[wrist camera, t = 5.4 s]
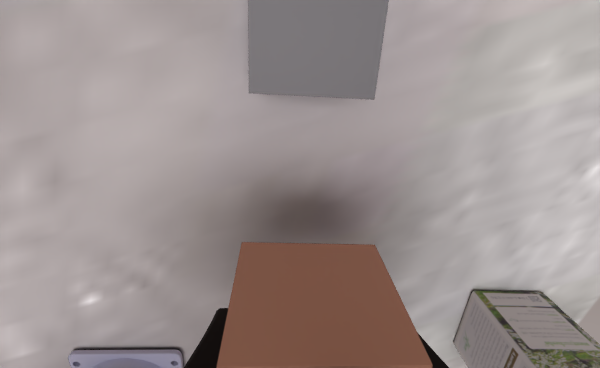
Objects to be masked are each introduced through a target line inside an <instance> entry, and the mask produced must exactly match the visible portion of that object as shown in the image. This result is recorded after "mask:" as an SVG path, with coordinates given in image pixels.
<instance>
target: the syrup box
mask: <svg viewBox="0 0 600 368" xmlns="http://www.w3.org/2000/svg"><path fill="white" fill-rule="evenodd" d="M454 345H455V347H456V349H457V350H458V352H459V354H460V355H461V357H462V359H463V360H464V362H465V363H466V365H467V366H468V368H600V345H599V344H598V343H597V342H596V341H595V340H594V339H593V338H592V337H591V336H590V335H589V334H588V333H586V332H585V331H584V330H583V329H582V328H581V327H580V326H579V325H578V324H577V323H575V322H574V321H573V320H572V319H571V318H570V317H569V316H568V315H566V314H565V313H564V312H563V311H562V310H561V309H560V308H559V307H558V306H557V305H556V304H555V303H554V302H552V301H551V300H550V299H549V298H548V297H547V296H546V295H545V294H544V293H542V292H514V291H512V292H511V291H473V292H472V294H471V296H470V299H469V301H468V303H467V306H466V309H465V311H464V314H463V317H462V320H461V323H460V326H459V329H458V332H457V334H456V337H455V341H454Z"/></svg>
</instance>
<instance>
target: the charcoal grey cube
mask: <svg viewBox="0 0 600 368" xmlns="http://www.w3.org/2000/svg"><path fill="white" fill-rule="evenodd" d="M388 2H389V0H248V38H249V93H255V94H274V95H294V96H313V97H332V98H352V99H371V100H374V98H375V91H376V84H377V78H378V71H379V64H380V57H381V50H382V43H383V36H384V29H385V22H386V15H387V9H388Z"/></svg>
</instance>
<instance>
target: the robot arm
mask: <svg viewBox="0 0 600 368" xmlns="http://www.w3.org/2000/svg"><path fill="white" fill-rule="evenodd" d="M227 313H228V308H220V309H218V310H217V311H216V313H215V316H214V318H213V320H212V322H211V324H210V325H209V327H208V329H207V331H206V333H205V334H204V336H203V338H202V340H201V341H200V343H199V345H198V346H197V348H196V349H195V351H194V353H193V354H192V356H191V357H190V359H189V360H188V362H187V364H186V365H185V367H183V359H182V353H181V352H180V351H179V350H74V351H72V352H71V354H70V355H69V356H68V360H69V363H70V366H71V368H217V363H218V358H219V353H220V348H221V343H222V338H223V333H224V328H225V323H226V318H227ZM418 336H419V338H420V340H421V342H422V344H423V346H424V348H425V350H426V352H427V354H428V356H429V358H430V360H431V363H432V365H433V366H432V368H449V367H448V366H447V365H446V364H445V363H444V362H443V361H442V360H441V359H440V357H439V356H438V355H437V354H436V353H435V352H434V351H433V350H432V349H431V348H430V346H429V345H428V344H427V343H426V342H425V341H424V340H423V338H422V337H421V336H420V335H419V334H418Z"/></svg>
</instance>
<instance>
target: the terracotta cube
mask: <svg viewBox="0 0 600 368" xmlns="http://www.w3.org/2000/svg"><path fill="white" fill-rule="evenodd" d="M432 366H433V365H432V363H431V360H430V358H429V356H428V354H427V352H426V350H425V348H424V346H423V344H422V342H421V340H420V338H419V336H418V333H417V331H416V329H415V327H414V325H413V323H412V321H411V319H410V317H409V315H408V313H407V311H406V309H405V306H404V304H403V302H402V300H401V298H400V296H399V294H398V292H397V290H396V288H395V286H394V284H393V282H392V279H391V277H390V275H389V273H388V271H387V269H386V267H385V265H384V263H383V261H382V259H381V257H380V255H379V252H378V250H377V248H376V246H375V245H360V244H307V243H254V242H242V244H241V249H240V254H239V259H238V264H237V269H236V273H235V278H234V283H233V288H232V293H231V298H230V303H229V308H228V313H227V318H226V323H225V328H224V333H223V338H222V343H221V348H220V353H219V358H218V363H217V368H432Z"/></svg>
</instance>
